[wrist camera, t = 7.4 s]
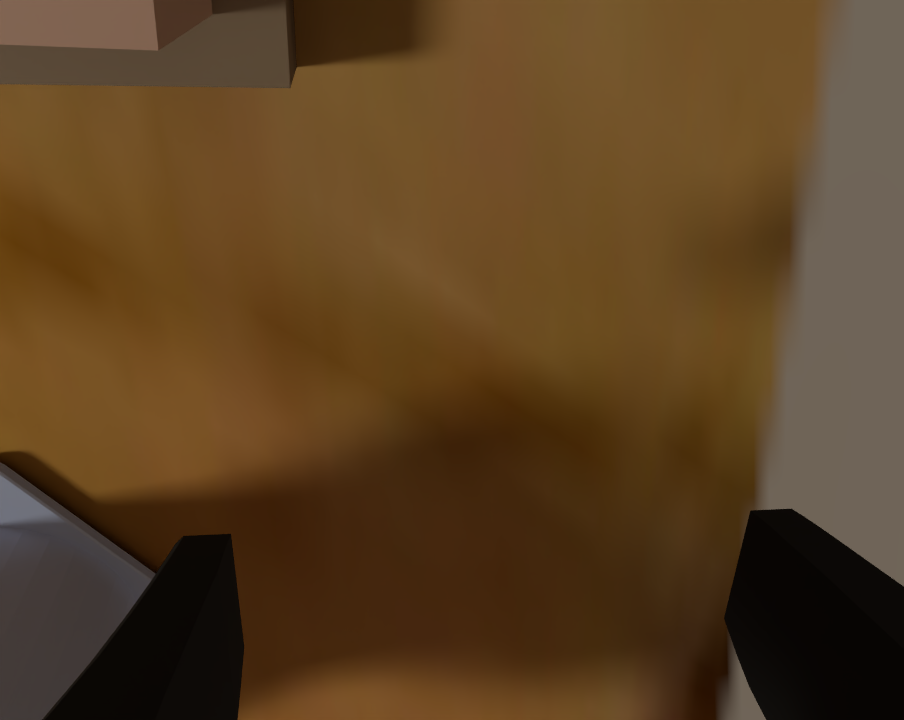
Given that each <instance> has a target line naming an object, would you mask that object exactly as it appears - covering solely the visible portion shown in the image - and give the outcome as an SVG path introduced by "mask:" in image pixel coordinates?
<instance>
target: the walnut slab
mask: <svg viewBox="0 0 904 720" xmlns="http://www.w3.org/2000/svg"><path fill="white" fill-rule="evenodd" d="M211 1H212V14H213V15H211V16H210V17H208V18H207V19H205V20H204V21H202V22H201V23H199V24H198V25H196V26H195V27H193V28H192V29H190V30H189V31H187V32H186V33H184V34H183V35H181V36H180V37H178V38H177V39H175V40H174V41H172V42H171V43H169V44H168V45H166V46H165V47H163V48H162V49H160V50H159V51H156V50H130V49H104V48H77V47H51V46H25V45H0V84H36V85H108V86H180V87H252V88H290V87H291V84H292V80H293V77H294V74H295V71H296V47H295V27H294V7H293V0H211Z"/></svg>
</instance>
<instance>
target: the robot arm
mask: <svg viewBox="0 0 904 720" xmlns="http://www.w3.org/2000/svg"><path fill="white" fill-rule="evenodd" d="M724 619H725V622H726V625H727V628H728V631H729V634H730V637H731V639H732V642H733V645H734V648H735V651H736V654H737V656H738V659H739V661H740V664H741V667H742V669H743V672H744V674H745V677H746V679H747V682H748V684H749V687H750V689H751V691H752V693H753V694H754V697H755V698H756V701H757V703H758V705H759V706H760V709H761V710H762V712H763V714H764V716H765V718H766V720H904V587H903V586H902V585H901V584H899V583H898V582H896V581H895V580H893V579H892V578H891V577H889V576H888V575H886V574H885V573H884V572H882V571H881V570H879V569H878V568H877V567H875V566H874V565H872V564H871V563H870V562H868V561H867V560H865V559H864V558H863V557H861V556H860V555H858V554H857V553H856V552H854V551H853V550H851V549H850V548H849V547H847V546H845V545H844V544H843V543H841V542H840V541H839V540H837V539H836V538H834V537H833V536H832V535H830V534H829V533H827V532H826V531H824V530H823V529H822V528H820V527H819V526H817V525H816V524H814V523H813V522H811V521H810V520H808V519H806V518H805V517H804V516H802V515H801V514H799V513H797V512H796V511H794V510H793V509H776V510H754V511H750V515H749V519H748V523H747V527H746V531H745V535H744V539H743V543H742V547H741V551H740V555H739V560H738V564H737V568H736V572H735V576H734V580H733V584H732V588H731V592H730V596H729V600H728V604H727V608H726V613H725V617H724ZM243 654H244V642H243V633H242V625H241V616H240V608H239V599H238V591H237V582H236V574H235V565H234V557H233V548H232V540H231V534H219V535H197V536H183V537H182V538H181V539H180V540H179V541H178V542H177V543H176V544H175V545H174V547H173V549H172V550H171V552H170V553H169V555H168V556H167V558H166V559H165V561H164V562H163V564H162V565H161V567H160V568H159V570H158V571H157V573H156V574H155V573H154V572H153V571H151V570H150V569H148V568H147V567H146V566H144V565H143V564H141V563H140V562H139V561H137V560H136V559H135V558H133V557H132V556H130V555H129V554H128V553H126V552H125V551H123V550H122V549H121V548H119V547H118V546H117V545H115V544H114V543H112V542H111V541H110V540H108V539H107V538H106V537H104V536H103V535H101V534H100V533H99V532H97V531H96V530H94V529H93V528H92V527H90V526H89V525H88V524H86V523H85V522H83V521H82V520H81V519H79V518H78V517H76V516H75V515H74V514H72V513H71V512H70V511H68V510H67V509H65V508H64V507H63V506H61V505H60V504H58V503H57V502H56V501H54V500H53V499H52V498H50V497H49V496H47V495H46V494H45V493H43V492H42V491H40V490H39V489H38V488H36V487H35V486H34V485H32V484H31V483H29V482H28V481H27V480H25V479H24V478H22V477H21V476H20V475H18V474H17V473H16V472H14V471H13V470H11V469H10V468H9V467H7V466H6V465H4V464H2V463H0V720H237V719H238V708H239V698H240V688H241V677H242V665H243Z"/></svg>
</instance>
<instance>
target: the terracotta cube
mask: <svg viewBox="0 0 904 720" xmlns="http://www.w3.org/2000/svg"><path fill="white" fill-rule="evenodd" d="M211 15H213V14H212V1H211V0H0V45H25V46H51V47H77V48H104V49H130V50H156V51H159V50H160V49H162V48H163V47H165V46H166V45H168V44H169V43H171V42H172V41H174V40H175V39H177V38H178V37H180V36H181V35H183V34H184V33H186V32H187V31H189V30H190V29H192V28H193V27H195V26H196V25H198V24H199V23H201V22H202V21H204V20H205V19H207V18H208V17H210V16H211Z"/></svg>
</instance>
